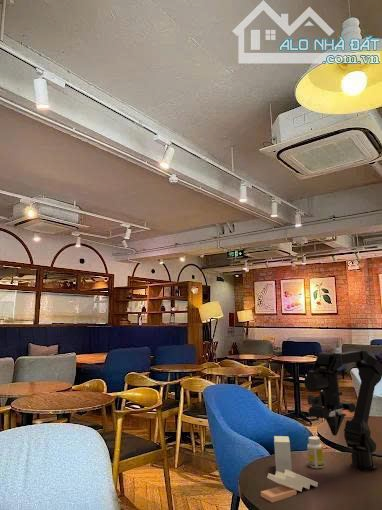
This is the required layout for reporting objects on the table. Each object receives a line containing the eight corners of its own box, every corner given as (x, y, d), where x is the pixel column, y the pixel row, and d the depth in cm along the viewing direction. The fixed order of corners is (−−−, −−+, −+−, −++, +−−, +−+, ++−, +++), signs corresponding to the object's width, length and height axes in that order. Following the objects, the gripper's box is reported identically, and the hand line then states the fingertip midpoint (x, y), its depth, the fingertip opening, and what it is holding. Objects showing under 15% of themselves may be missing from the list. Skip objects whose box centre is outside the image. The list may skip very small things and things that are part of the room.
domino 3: (299, 479, 126) (276, 470, 123) (310, 484, 121) (286, 475, 118) (298, 484, 125) (275, 475, 122) (309, 489, 121) (285, 480, 118)
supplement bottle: (324, 464, 143) (321, 436, 145) (324, 469, 138) (321, 440, 139) (309, 463, 144) (306, 435, 146) (308, 468, 139) (306, 439, 141)
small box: (292, 474, 134) (290, 442, 136) (276, 473, 135) (274, 441, 137) (291, 466, 142) (289, 436, 144) (275, 465, 143) (273, 435, 145)
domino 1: (292, 481, 124) (268, 473, 121) (302, 486, 120) (278, 477, 117) (291, 486, 124) (267, 477, 121) (301, 491, 119) (277, 482, 116)
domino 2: (284, 484, 122) (260, 491, 117) (296, 489, 118) (271, 497, 113) (285, 489, 122) (260, 496, 117) (296, 495, 118) (271, 502, 113)
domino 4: (306, 477, 127) (285, 468, 124) (318, 482, 123) (296, 473, 120) (305, 482, 127) (284, 473, 123) (317, 487, 123) (295, 478, 119)
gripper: (329, 384, 148) (333, 426, 145) (295, 388, 139) (298, 434, 136) (354, 387, 139) (359, 433, 136) (319, 392, 129) (323, 441, 126)
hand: (334, 435), depth 134 cm, fingers closed
